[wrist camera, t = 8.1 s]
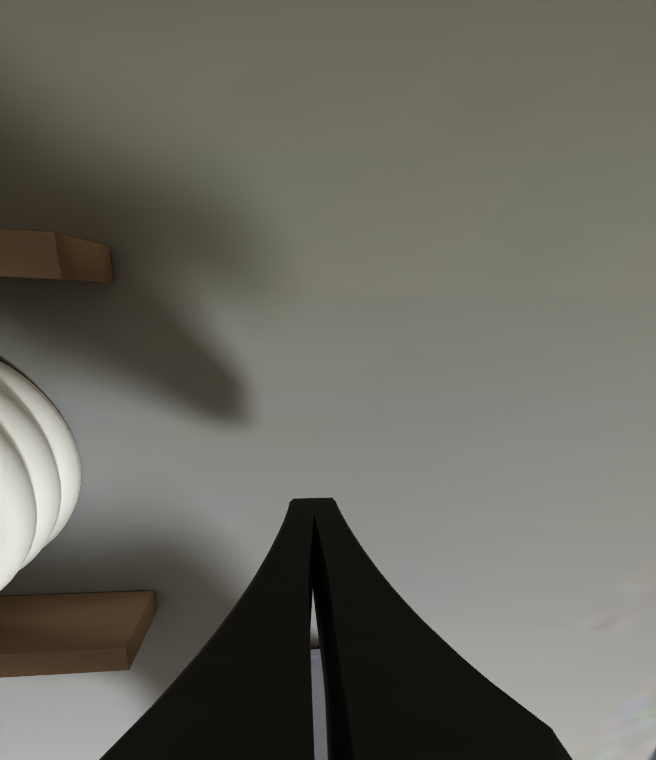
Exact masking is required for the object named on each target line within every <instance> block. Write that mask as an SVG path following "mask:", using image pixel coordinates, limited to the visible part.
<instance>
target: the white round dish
mask: <svg viewBox="0 0 656 760" xmlns="http://www.w3.org/2000/svg"><path fill="white" fill-rule="evenodd" d="M80 486H81V465H80V460H79V455H78V451H77V448H76V445H75V442H74V439H73V436H72V434H71V432H70V430H69V428H68V426H67V424H66V422H65V421H64V420H63V418H62V417H61V415H60V414H59V412H58V411H57V409H56V408H55V407H54V405H53V404H52V403H51V402H50V401H49V400H48V399H47V397H46V396H45V395H44V394H43V393H42V392H41V391H40V390H39V389H38V388H37V387H36V386H34V385H33V384H32V383H31V382H30V381H29V380H28V379H26V378H25V377H24V376H22V375H21V374H20V373H18V372H17V371H16V370H14V369H13V368H11V367H9V366H8V365H6V364H4V363H3V362H1V361H0V591H1V590H2V589H3V588H4V587H5V586H6V585H7V584H8V583H9V582H10V581H11V580H12V579H13V577H14V576H15V575H16V573H17V572H18V571H19V570H20V569H22V568H23V567H25V566H26V565H27V564H28V563H29V562H30V561H32V560H33V559H34V558H35V557H36V556H37V554H38V553H39V552H40V551H41V549H42V548H43V547H45V546H46V545H47V544H49V543H50V542H51V541H52V540H53V539H54V538H55V537H56V536H57V535H58V534H59V533H60V532H61V530H62V529H63V528H64V526H65V525H66V523H67V521H68V520H69V518H70V516H71V514H72V512H73V510H74V508H75V506H76V503H77V500H78V497H79V493H80Z"/></svg>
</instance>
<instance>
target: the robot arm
mask: <svg viewBox="0 0 656 760" xmlns="http://www.w3.org/2000/svg"><path fill="white" fill-rule="evenodd" d="M312 592H313V594H314V603H315V611H316V620H317V628H318V637H319V646H320V649H311V647H310V626H311V609H312ZM99 760H572V758H571V757H570V755H569V754H568V752H567V751H566V749H565V748H564V747H563V745H562V744H561V742H560V741H559V739H558V738H557V736H556V735H555V733H554V731H553V730H552V729H551V728H550V727H549V726H548V725H546V724H545V723H544V722H542V721H541V720H540V719H539V718H537V717H536V716H535V715H533V714H532V713H531V712H529V711H528V710H527V709H525V708H524V707H523V706H522V705H520V704H519V703H518V702H516V701H515V700H514V699H512V698H511V697H510V696H509V695H507V694H506V693H505V692H503V691H502V690H501V689H499V688H498V687H497V686H496V685H494V684H493V683H492V682H490V681H489V680H488V679H487V678H486V677H484V676H483V675H482V674H481V673H480V672H478V671H477V670H476V669H475V668H474V667H473V666H471V665H470V664H469V663H468V662H467V661H466V660H464V659H463V658H462V657H461V656H460V655H459V654H458V653H457V652H456V651H455V650H454V649H452V648H451V647H450V646H449V645H448V644H447V643H446V642H445V641H444V640H443V639H442V638H441V637H440V636H439V635H438V634H437V633H436V632H434V631H433V630H432V629H431V628H430V627H429V626H428V625H427V624H426V623H425V622H424V621H423V620H422V619H421V618H420V617H419V616H418V615H417V614H416V613H415V612H414V611H413V609H412V608H411V607H410V606H409V605H408V604H407V603H406V602H405V601H404V600H403V599H402V598H401V596H400V595H399V594H398V593H397V592H396V591H395V590H394V588H393V587H392V586H391V585H390V584H389V582H388V581H387V580H386V579H385V578H384V576H383V575H382V574H381V573H380V571H379V570H378V569H377V567H376V566H375V565H374V563H373V562H372V561H371V559H370V558H369V557H368V555H367V554H366V552H365V551H364V550H363V548H362V547H361V545H360V543H359V542H358V540H357V539H356V537H355V536H354V534H353V533H352V531H351V530H350V528H349V526H348V525H347V523H346V521H345V519H344V518H343V516H342V514H341V512H340V510H339V508H338V506H337V504H336V501H335V500H334V499H333V498H303V499H293V500H292V501H290V503H289V508H288V511H287V514H286V517H285V519H284V522H283V524H282V526H281V529H280V531H279V533H278V535H277V537H276V539H275V541H274V543H273V545H272V547H271V549H270V551H269V553H268V554H267V556H266V558H265V560H264V561H263V563H262V565H261V566H260V568H259V570H258V572H257V573H256V575H255V577H254V578H253V580H252V581H251V583H250V585H249V586H248V588H247V589H246V591H245V592H244V594H243V595H242V597H241V598H240V599H239V601H238V602H237V604H236V605H235V607H234V608H233V609H232V611H231V612H230V614H229V615H228V616H227V618H226V619H225V620H224V621H223V623H222V624H221V625H220V627H219V628H218V629H217V631H216V632H215V633H214V635H213V636H212V637H211V638H210V640H209V641H208V642H207V643H206V645H205V646H204V647H203V648H202V650H201V651H200V652H199V653H198V654H197V656H196V657H195V658H194V659H193V660H192V661H191V662H190V664H189V665H188V666H187V667H186V668H185V669H184V670H183V672H182V673H181V674H180V675H179V676H178V677H177V678H176V680H175V681H174V682H173V683H172V684H171V685H170V686H169V688H168V689H167V690H166V691H165V692H164V693H163V694H162V696H161V697H160V698H159V699H158V700H157V701H156V702H155V703H154V704H153V705H152V706H151V707H150V708H149V709H148V710H147V712H146V713H145V714H144V715H143V716H142V717H141V718H140V719H139V720H138V721H137V722H136V723H135V724H134V725H133V726H132V727H131V728H130V729H129V730H128V731H127V732H126V733H125V734H124V735H123V736H122V737H121V738H120V739H119V740H118V741H117V742H116V743H115V744H114V745H113V746H112V747H111V748H110V749H109V750H108V751H107V752H106V753H105V754H104V755H103V756H102V757H101V758H100V759H99Z"/></svg>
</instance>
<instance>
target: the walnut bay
mask: <svg viewBox="0 0 656 760" xmlns="http://www.w3.org/2000/svg"><path fill="white" fill-rule="evenodd" d="M0 277H5V278H28V279H50V280H72V281H95V282H114V278H113V271H112V263H111V255H110V248H109V246H106V245H102V244H98V243H94V242H90V241H87V240H83V239H79V238H75V237H71V236H67V235H63V234H59V233H55V232H43V231H25V230H8V229H0ZM156 611H157V607H156V599H155V592H154V591H131V592H104V593H78V594H51V595H24V596H0V677H17V676H34V675H52V674H69V673H86V672H103V671H120V670H129V669H130V667H131V665H132V663H133V661H134V658H135V656H136V654H137V652H138V650H139V648H140V645H141V643H142V641H143V639H144V637H145V635H146V633H147V630H148V628H149V626H150V624H151V622H152V620H153V617H154V615H155V613H156Z"/></svg>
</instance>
